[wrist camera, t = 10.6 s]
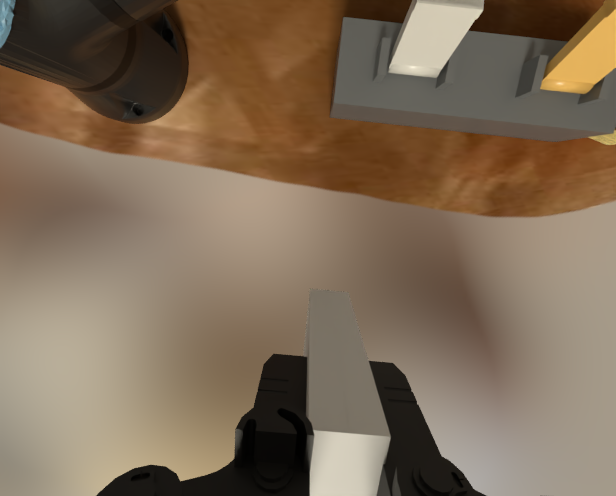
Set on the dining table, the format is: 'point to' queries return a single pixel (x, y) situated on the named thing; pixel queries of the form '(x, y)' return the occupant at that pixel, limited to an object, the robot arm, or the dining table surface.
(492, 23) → the dining table surface
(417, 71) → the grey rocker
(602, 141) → the candy box
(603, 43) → the block
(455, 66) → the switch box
